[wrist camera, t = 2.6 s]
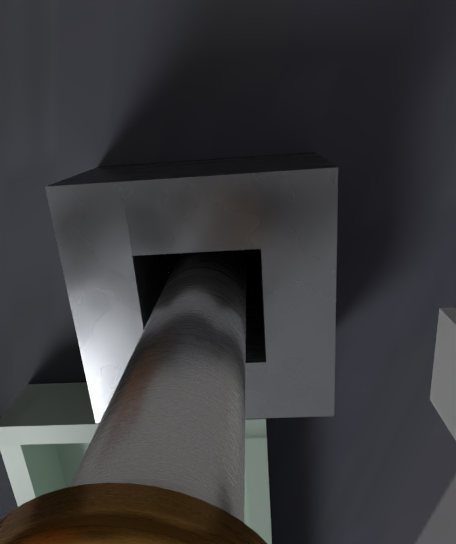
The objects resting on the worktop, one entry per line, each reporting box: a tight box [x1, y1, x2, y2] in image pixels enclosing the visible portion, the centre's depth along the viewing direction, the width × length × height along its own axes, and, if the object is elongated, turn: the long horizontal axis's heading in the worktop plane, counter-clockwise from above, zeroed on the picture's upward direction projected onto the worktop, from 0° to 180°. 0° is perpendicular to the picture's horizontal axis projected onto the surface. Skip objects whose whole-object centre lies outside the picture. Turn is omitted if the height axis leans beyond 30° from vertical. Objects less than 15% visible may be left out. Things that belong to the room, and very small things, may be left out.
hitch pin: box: [0, 250, 267, 544], centre depth 12 cm, size 4×4×16 cm
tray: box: [0, 382, 272, 544], centre depth 23 cm, size 12×18×3 cm, turn 4°
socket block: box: [45, 153, 338, 423], centre depth 17 cm, size 9×9×5 cm
